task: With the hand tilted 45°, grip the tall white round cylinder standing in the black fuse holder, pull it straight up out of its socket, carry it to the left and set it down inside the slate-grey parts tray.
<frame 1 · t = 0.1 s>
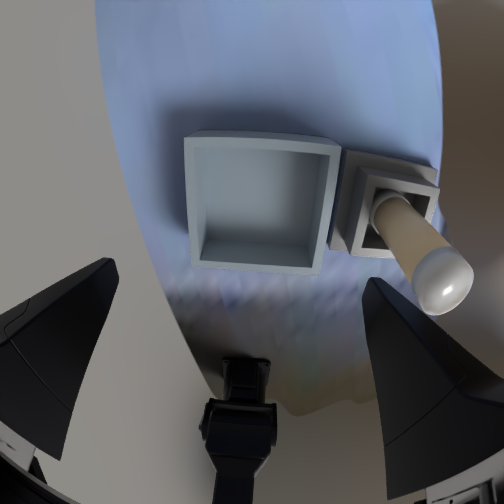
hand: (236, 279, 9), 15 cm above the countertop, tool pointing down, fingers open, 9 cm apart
parts tray: (260, 192, 22), on the countertop
fuse holder: (382, 204, 22), on the countertop
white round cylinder: (386, 209, 21), point 1 cm above the countertop, touching fuse holder
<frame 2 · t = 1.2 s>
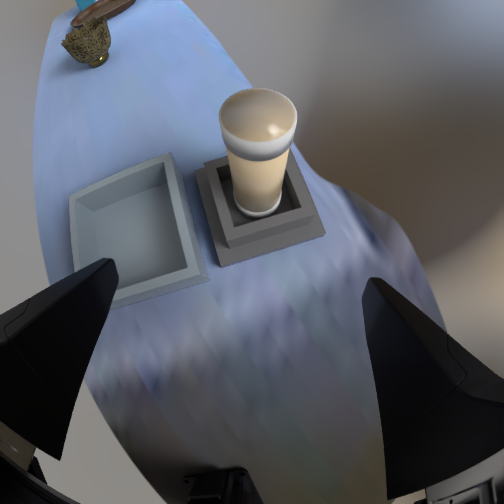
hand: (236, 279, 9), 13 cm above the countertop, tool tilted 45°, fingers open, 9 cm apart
cup: (100, 62, 30), on the countertop
plant saucer: (107, 13, 35), on the countertop
data package: (89, 8, 38), on the countertop
parts tray: (140, 241, 23), on the countertop
fuse holder: (257, 203, 24), on the countertop
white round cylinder: (257, 199, 23), point 1 cm above the countertop, touching fuse holder
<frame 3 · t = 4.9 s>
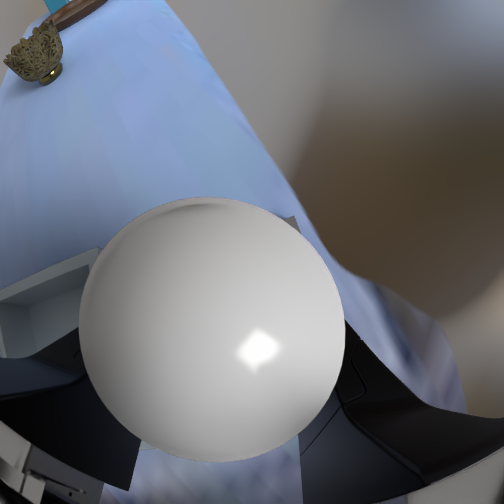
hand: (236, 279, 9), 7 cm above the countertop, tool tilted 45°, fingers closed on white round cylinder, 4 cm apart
cup: (53, 77, 21), on the countertop
plant saucer: (78, 15, 27), on the countertop
data package: (63, 10, 30), on the countertop
parts tray: (86, 357, 14), on the countertop
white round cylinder: (241, 318, 14), point 1 cm above the countertop, touching fuse holder, gripper
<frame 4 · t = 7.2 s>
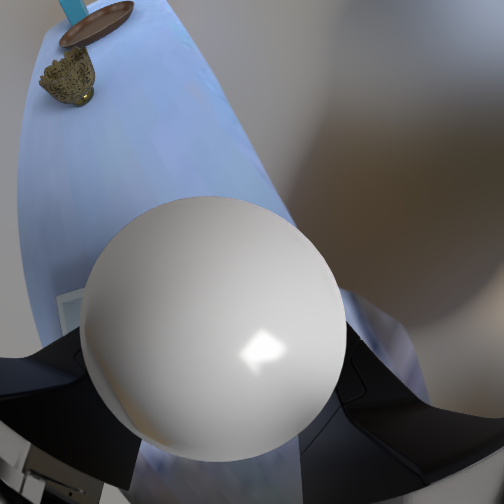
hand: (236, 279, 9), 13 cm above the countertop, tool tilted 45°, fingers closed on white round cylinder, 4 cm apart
cup: (85, 99, 28), on the countertop
plant saucer: (99, 30, 34), on the countertop
data package: (82, 21, 36), on the countertop
parts tray: (136, 344, 21), on the countertop
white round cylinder: (242, 318, 14), point 8 cm above the countertop, touching gripper
when the fingers open (8 cm above the countertop, at t = 9.6 s): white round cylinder drops 1 cm, resting on parts tray.
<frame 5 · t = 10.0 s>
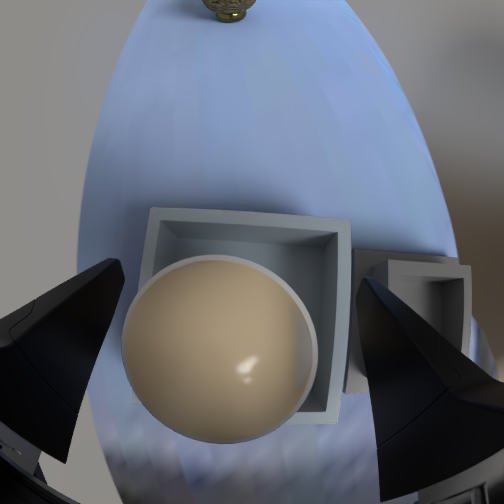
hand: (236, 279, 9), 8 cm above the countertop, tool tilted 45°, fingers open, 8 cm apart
cup: (231, 19, 24), on the countertop
parts tray: (243, 317, 16), on the countertop
fuse holder: (406, 321, 16), on the countertop
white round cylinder: (243, 317, 15), point 1 cm above the countertop, touching parts tray
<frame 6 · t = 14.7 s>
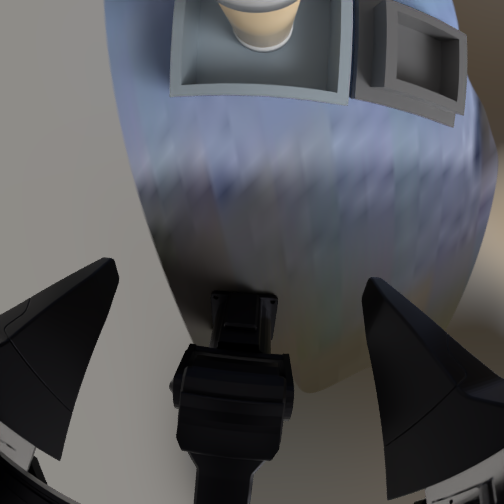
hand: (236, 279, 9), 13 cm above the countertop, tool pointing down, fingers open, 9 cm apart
parts tray: (263, 31, 14), on the countertop
fuse holder: (408, 59, 14), on the countertop
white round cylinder: (263, 29, 13), point 1 cm above the countertop, touching parts tray
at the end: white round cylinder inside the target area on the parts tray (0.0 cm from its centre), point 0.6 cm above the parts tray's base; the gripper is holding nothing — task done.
